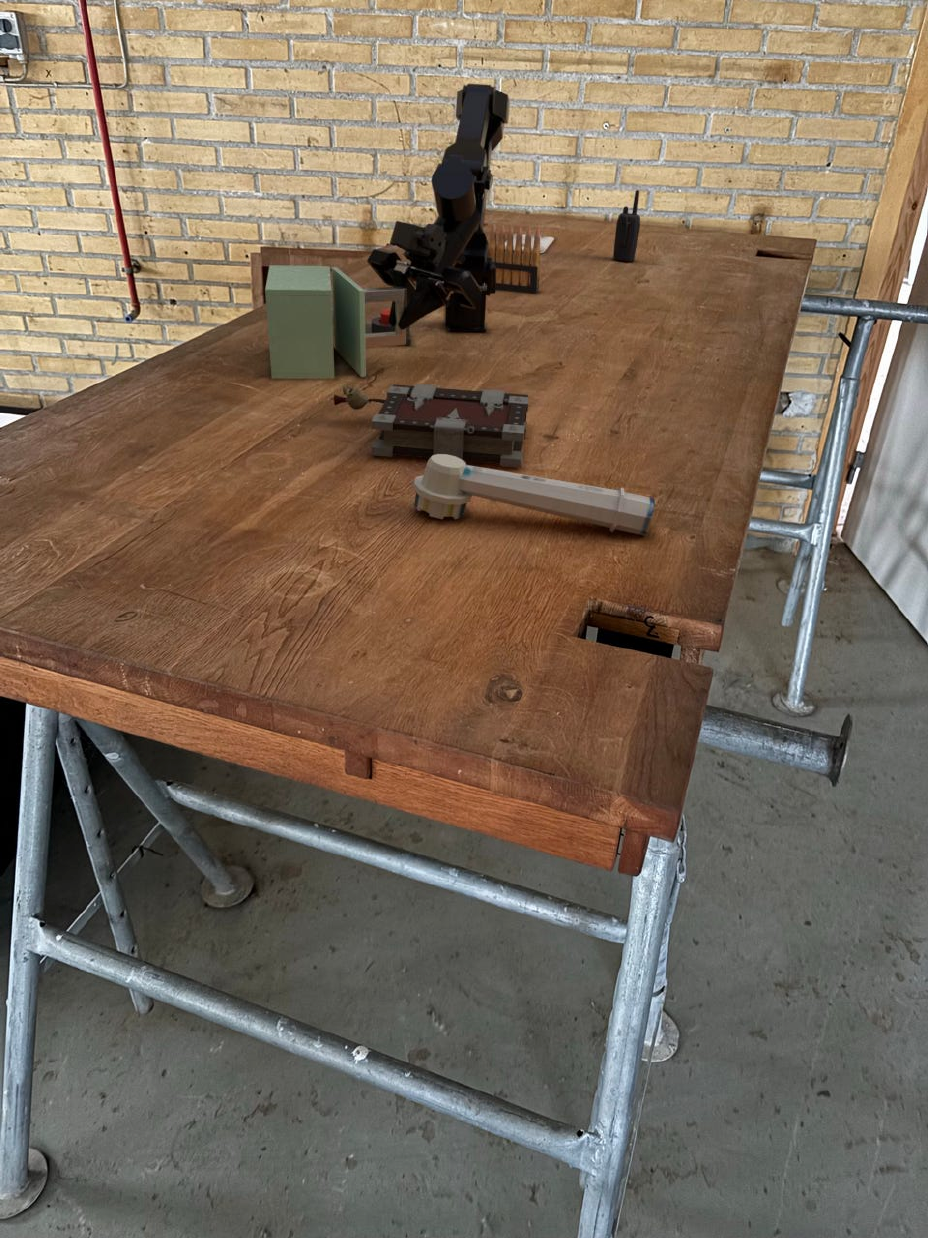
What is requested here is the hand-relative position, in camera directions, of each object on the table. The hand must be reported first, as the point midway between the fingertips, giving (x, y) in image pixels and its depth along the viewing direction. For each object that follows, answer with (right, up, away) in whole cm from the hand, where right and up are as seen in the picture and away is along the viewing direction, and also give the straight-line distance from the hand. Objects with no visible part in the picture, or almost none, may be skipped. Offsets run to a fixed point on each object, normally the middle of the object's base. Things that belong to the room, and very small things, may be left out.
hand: (395, 326), depth 133 cm
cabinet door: (-4, -3, +7) cm, 9 cm away
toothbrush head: (+17, -32, -35) cm, 51 cm away
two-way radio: (+46, +39, +77) cm, 98 cm away
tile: (+28, +42, +79) cm, 94 cm away
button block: (-4, +3, +17) cm, 18 cm away
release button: (-2, +6, +16) cm, 17 cm away
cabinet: (-14, -4, +5) cm, 16 cm away
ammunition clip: (+19, +23, +49) cm, 58 cm away
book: (+5, -20, -18) cm, 27 cm away
